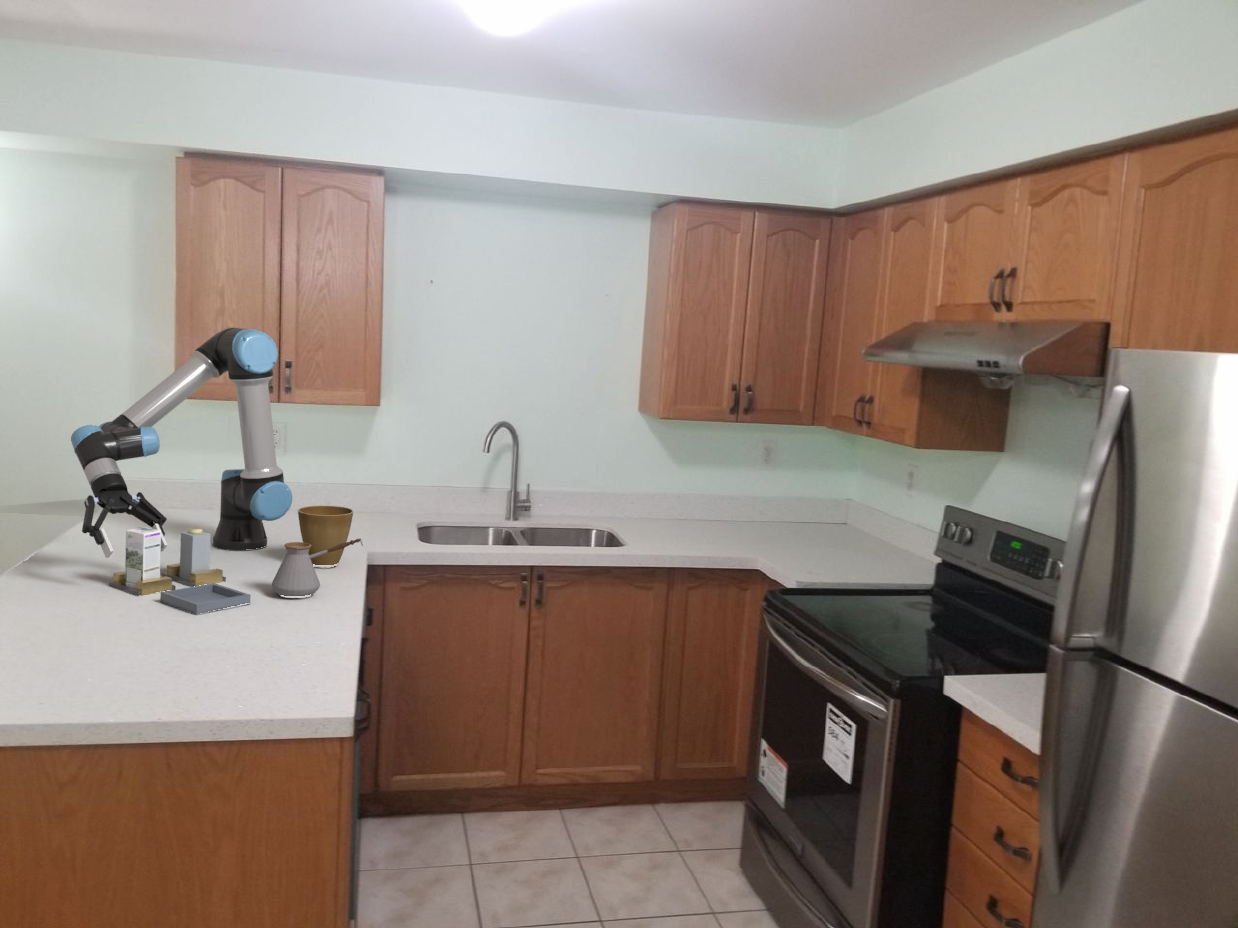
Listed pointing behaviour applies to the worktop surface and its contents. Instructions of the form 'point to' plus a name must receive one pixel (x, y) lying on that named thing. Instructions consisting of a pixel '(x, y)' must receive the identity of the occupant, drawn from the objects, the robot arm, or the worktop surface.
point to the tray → (204, 598)
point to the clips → (194, 576)
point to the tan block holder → (142, 584)
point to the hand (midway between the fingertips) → (137, 551)
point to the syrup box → (142, 555)
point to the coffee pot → (300, 569)
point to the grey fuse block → (194, 552)
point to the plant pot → (325, 531)
